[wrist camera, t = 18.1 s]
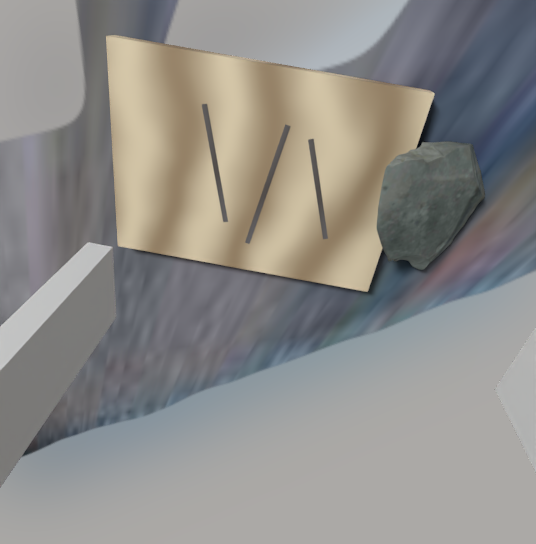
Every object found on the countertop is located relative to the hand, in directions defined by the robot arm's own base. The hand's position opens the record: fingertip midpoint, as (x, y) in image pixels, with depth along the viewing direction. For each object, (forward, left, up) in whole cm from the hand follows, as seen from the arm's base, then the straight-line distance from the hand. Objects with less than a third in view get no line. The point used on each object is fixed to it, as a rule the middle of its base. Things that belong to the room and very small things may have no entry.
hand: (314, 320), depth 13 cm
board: (-4, -3, -21) cm, 22 cm away
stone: (+4, -3, -15) cm, 16 cm away
